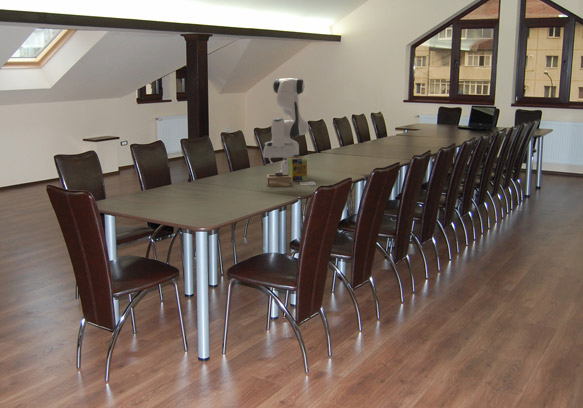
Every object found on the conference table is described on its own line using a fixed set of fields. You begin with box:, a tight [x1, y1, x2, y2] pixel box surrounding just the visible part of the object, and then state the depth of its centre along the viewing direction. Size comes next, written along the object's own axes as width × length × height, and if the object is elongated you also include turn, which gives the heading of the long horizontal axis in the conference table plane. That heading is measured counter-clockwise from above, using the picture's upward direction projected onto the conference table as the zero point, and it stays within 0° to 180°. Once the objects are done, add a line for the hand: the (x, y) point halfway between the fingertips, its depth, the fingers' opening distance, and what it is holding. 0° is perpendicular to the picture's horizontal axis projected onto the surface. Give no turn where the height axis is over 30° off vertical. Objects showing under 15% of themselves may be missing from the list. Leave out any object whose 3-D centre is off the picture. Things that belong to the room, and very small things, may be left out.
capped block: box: [274, 170, 283, 177], centre depth 427 cm, size 6×4×8 cm
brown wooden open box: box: [266, 173, 292, 187], centre depth 428 cm, size 12×15×6 cm
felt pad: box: [298, 181, 317, 187], centre depth 430 cm, size 12×10×1 cm
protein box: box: [288, 156, 308, 182], centre depth 446 cm, size 10×15×16 cm
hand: (278, 164), depth 425 cm, fingers open, 8 cm apart
